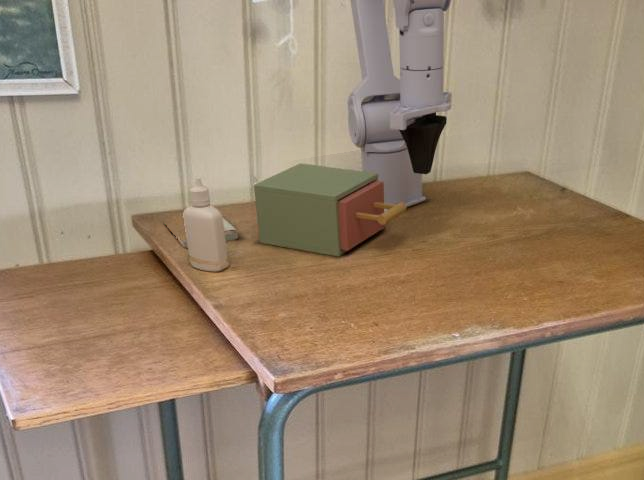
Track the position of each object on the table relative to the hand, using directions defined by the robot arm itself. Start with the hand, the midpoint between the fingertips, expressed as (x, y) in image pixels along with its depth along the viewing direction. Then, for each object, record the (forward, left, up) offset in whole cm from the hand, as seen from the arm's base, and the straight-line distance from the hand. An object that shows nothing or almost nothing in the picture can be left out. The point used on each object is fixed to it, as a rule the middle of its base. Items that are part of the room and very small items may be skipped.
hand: (422, 172), depth 126 cm
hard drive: (+19, -28, -10) cm, 35 cm away
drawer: (+8, -8, -9) cm, 14 cm away
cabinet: (+9, -12, -9) cm, 18 cm away
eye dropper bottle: (+27, -15, -10) cm, 32 cm away
